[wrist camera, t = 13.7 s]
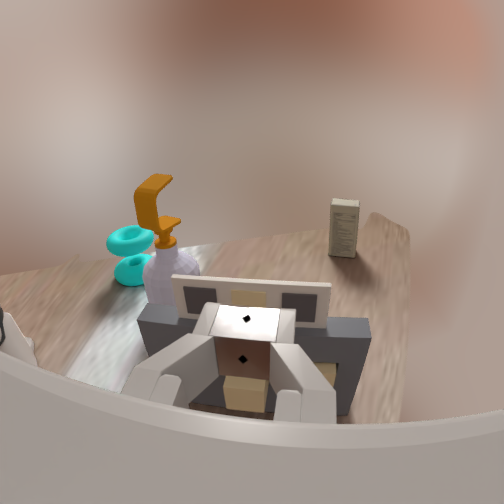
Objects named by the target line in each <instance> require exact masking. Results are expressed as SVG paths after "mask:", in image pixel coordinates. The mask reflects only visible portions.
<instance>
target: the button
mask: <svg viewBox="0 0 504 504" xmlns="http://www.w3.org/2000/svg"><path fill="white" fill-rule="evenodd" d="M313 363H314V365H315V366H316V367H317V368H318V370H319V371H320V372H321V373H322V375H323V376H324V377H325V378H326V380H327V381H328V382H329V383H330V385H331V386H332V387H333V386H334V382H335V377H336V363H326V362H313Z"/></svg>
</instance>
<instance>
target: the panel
mask: <svg viewBox="0 0 504 504" xmlns="http://www.w3.org/2000/svg"><path fill="white" fill-rule="evenodd" d="M171 282H172V287H173V292H174V297H175V301H176V306H170V305H160V304H151V303H147V305H146V306H145V308H144V309H143V311H142V312H141V314H140V315H139V317H138V319H137V322H138V325H139V328H140V332H141V335H142V338H143V341H144V344H145V347H146V350H147V352H148V355H149V357H151V356H152V355H154V354H156V353H157V352H159V351H160V350H162V349H164V348H165V347H167V346H168V345H170V344H172V343H173V342H175V341H176V340H178V339H180V338H181V337H183V336H184V335H186V334H188V333H190V334H192V333H193V330H194V328H195V326H196V323H197V321H198V319H199V316H200V314H201V312H202V309H203V307H204V305H205V304H206V303H207V302H213V303H221V304H222V303H223V304H232V305H241V306H251V307H263V308H278V309H281V308H285V309H296V322H295V336H294V344H299V346H300V347H301V348H302V349H303V351H304V352H305V353H306V354H307V356H308V357H309V358H310V359H311V361H312V362H326V363H336V377H335V382H334V386H333V388H334V390H335V391H336V415H348V412H349V409H350V406H351V403H352V400H353V398H354V395H355V392H356V388H357V385H358V382H359V379H360V376H361V373H362V369H363V366H364V363H365V360H366V356H367V353H368V349H369V346H370V342H371V338H372V337H371V332H370V326H369V321H368V318H347V317H328V310H329V302H330V295H331V283H317V282H296V281H276V280H257V279H239V278H223V277H207V276H192V275H178V274H173V275H172V276H171ZM225 378H226V376H224V375H219V376H218V377H217V378H216V379H215V380H214V381H213V382H212V383H211V384H210V385H209V386H208V387H207V388H205V389H204V390H203V391H202V392H201V393H200V394H199V395H198V396H197V397H196V398H194V399H193V400H192V401H191V402H193V403H199V404H205V405H212V406H219V407H226V402H225V396H224V391H223V385H224V381H225ZM276 400H277V395H276V393H275V391H274V389H273V388H272V386H271V384H270V382H269V386H268V392H267V399H266V405H265V411H264V412H274V413H275V407H276Z"/></svg>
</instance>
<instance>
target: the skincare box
mask: <svg viewBox="0 0 504 504" xmlns="http://www.w3.org/2000/svg"><path fill="white" fill-rule="evenodd" d="M359 207H360V201H359V200H349V199H336V198H333V199H332V202H331V209H330V232H329V251H328V255H332V256H341V257H351V258H355V254H356V244H357V234H358V222H359V209H360V208H359Z"/></svg>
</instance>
